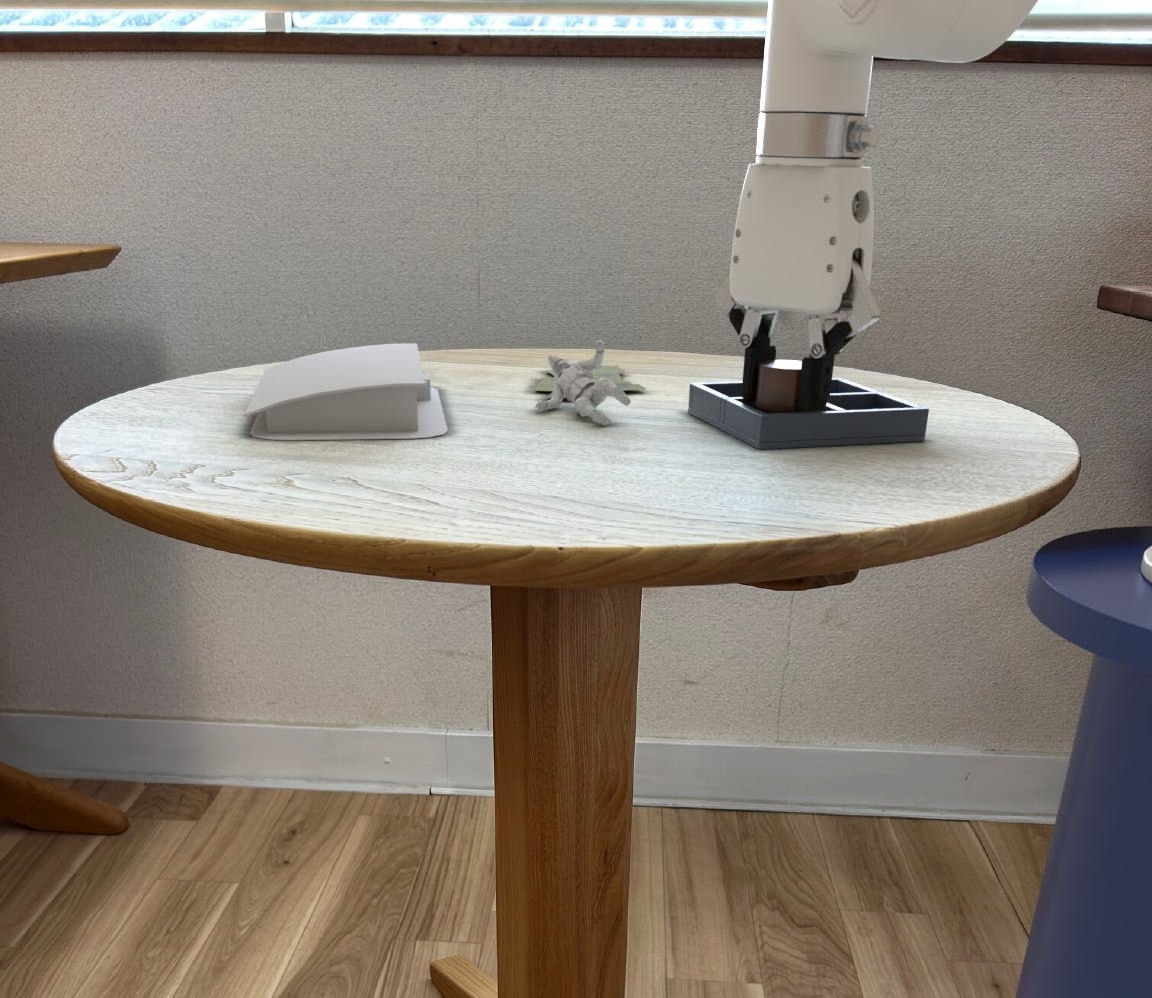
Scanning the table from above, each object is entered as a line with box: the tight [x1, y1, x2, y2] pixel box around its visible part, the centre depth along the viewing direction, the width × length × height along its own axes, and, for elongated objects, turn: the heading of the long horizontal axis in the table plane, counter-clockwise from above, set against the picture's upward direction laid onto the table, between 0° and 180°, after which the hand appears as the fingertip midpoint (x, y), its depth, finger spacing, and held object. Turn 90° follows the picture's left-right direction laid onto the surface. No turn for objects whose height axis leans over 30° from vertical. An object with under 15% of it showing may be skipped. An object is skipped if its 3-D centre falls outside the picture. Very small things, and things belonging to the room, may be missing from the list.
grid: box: [687, 377, 930, 450], centre depth 100 cm, size 14×14×2 cm
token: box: [755, 359, 803, 412], centre depth 95 cm, size 4×4×3 cm
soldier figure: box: [534, 339, 632, 426], centre depth 103 cm, size 8×5×12 cm
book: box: [244, 342, 449, 441], centre depth 102 cm, size 15×23×4 cm, turn 8°
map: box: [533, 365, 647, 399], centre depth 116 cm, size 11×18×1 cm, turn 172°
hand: (784, 401), depth 96 cm, fingers closed on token, 4 cm apart
